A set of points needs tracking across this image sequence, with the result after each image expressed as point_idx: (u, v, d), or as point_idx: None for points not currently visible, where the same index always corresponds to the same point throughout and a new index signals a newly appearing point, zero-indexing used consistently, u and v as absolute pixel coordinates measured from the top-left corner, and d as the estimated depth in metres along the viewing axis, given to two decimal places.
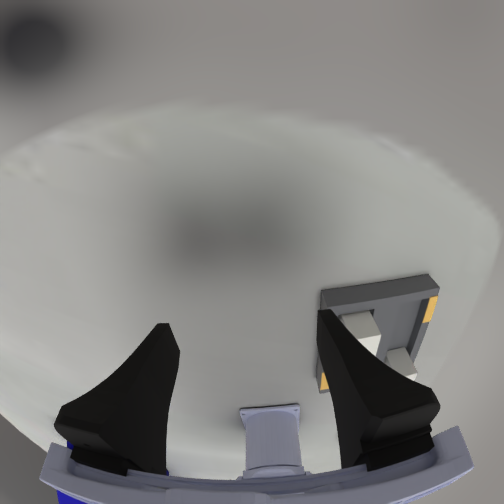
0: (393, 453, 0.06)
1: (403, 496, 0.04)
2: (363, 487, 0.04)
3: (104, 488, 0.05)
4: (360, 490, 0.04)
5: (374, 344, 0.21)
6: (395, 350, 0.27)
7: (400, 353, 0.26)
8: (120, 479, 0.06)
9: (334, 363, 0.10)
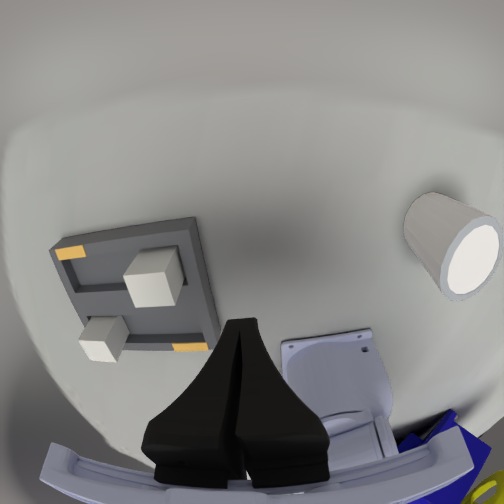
0: (279, 476, 0.06)
1: (403, 496, 0.04)
2: (363, 487, 0.04)
3: (104, 488, 0.05)
4: (360, 490, 0.04)
5: (88, 344, 0.20)
6: None
7: None
8: (120, 479, 0.06)
9: None
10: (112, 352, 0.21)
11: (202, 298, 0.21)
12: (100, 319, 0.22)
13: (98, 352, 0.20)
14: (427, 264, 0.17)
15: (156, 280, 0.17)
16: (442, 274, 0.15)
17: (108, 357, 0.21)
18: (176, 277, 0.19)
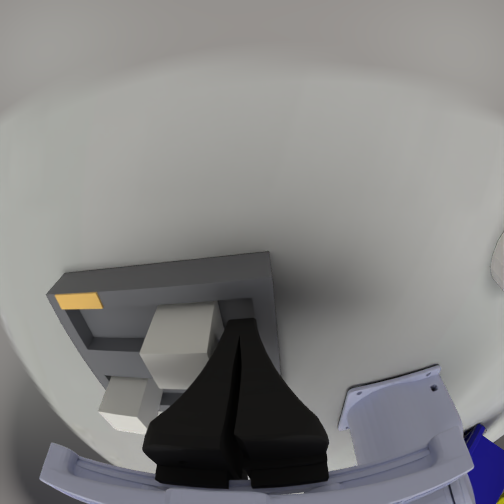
0: (278, 476, 0.06)
1: (403, 496, 0.04)
2: (363, 487, 0.04)
3: (104, 488, 0.05)
4: (360, 490, 0.04)
5: (113, 416, 0.14)
6: None
7: None
8: (120, 479, 0.06)
9: None
10: (147, 426, 0.14)
11: (276, 361, 0.15)
12: (125, 380, 0.16)
13: (127, 424, 0.14)
14: None
15: (193, 362, 0.11)
16: None
17: (141, 430, 0.15)
18: None
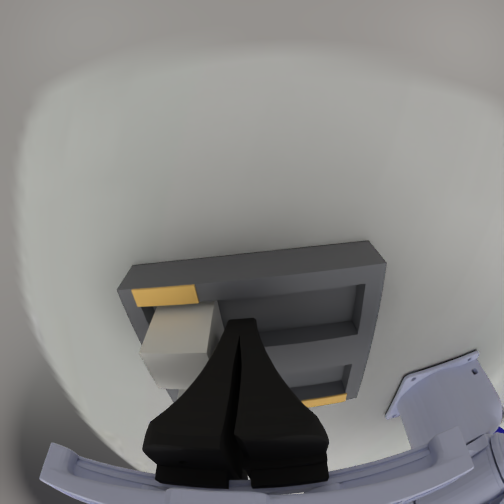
0: (278, 476, 0.06)
1: (403, 496, 0.04)
2: (363, 487, 0.04)
3: (104, 488, 0.05)
4: (360, 490, 0.04)
5: None
6: None
7: None
8: (120, 479, 0.06)
9: None
10: None
11: (367, 347, 0.15)
12: None
13: None
14: None
15: (192, 361, 0.11)
16: None
17: None
18: None
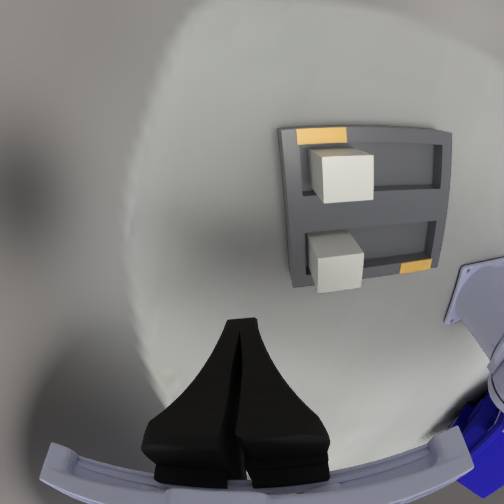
0: (279, 476, 0.06)
1: (403, 496, 0.04)
2: (363, 487, 0.04)
3: (104, 488, 0.05)
4: (360, 490, 0.04)
5: (334, 262, 0.17)
6: (309, 167, 0.18)
7: (310, 163, 0.17)
8: (120, 479, 0.06)
9: None
10: (361, 272, 0.17)
11: (446, 204, 0.18)
12: (326, 236, 0.19)
13: (342, 274, 0.17)
14: None
15: (362, 165, 0.14)
16: None
17: (352, 282, 0.17)
18: None
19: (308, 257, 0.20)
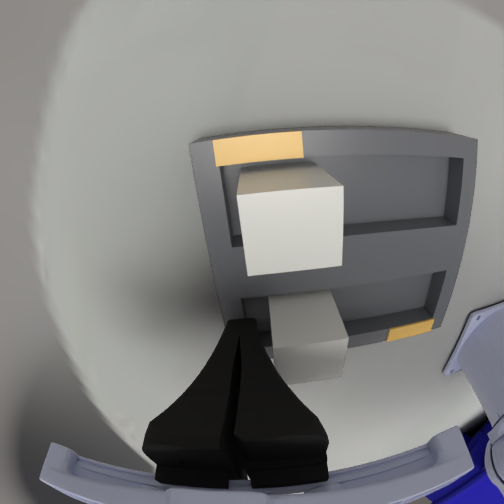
0: (278, 476, 0.06)
1: (403, 496, 0.04)
2: (363, 487, 0.04)
3: (104, 488, 0.05)
4: (360, 490, 0.04)
5: (300, 352, 0.10)
6: None
7: None
8: (120, 479, 0.06)
9: None
10: (343, 359, 0.11)
11: (462, 246, 0.12)
12: (296, 300, 0.13)
13: (313, 364, 0.11)
14: None
15: (319, 206, 0.08)
16: None
17: (328, 371, 0.11)
18: None
19: None
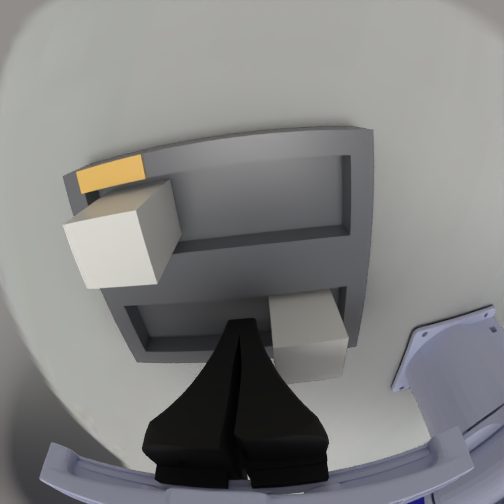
0: (278, 476, 0.06)
1: (403, 496, 0.04)
2: (363, 487, 0.04)
3: (104, 488, 0.05)
4: (360, 490, 0.04)
5: (300, 352, 0.11)
6: None
7: None
8: (120, 479, 0.06)
9: None
10: (343, 358, 0.11)
11: (365, 259, 0.12)
12: (296, 299, 0.13)
13: (313, 364, 0.11)
14: None
15: (120, 230, 0.08)
16: None
17: (328, 371, 0.11)
18: (162, 232, 0.10)
19: None
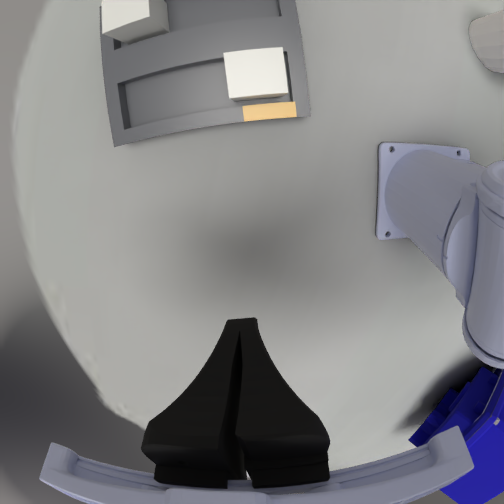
0: (279, 476, 0.06)
1: (403, 496, 0.04)
2: (363, 487, 0.04)
3: (104, 488, 0.05)
4: (360, 490, 0.04)
5: (244, 57, 0.12)
6: None
7: None
8: (120, 479, 0.06)
9: None
10: (285, 73, 0.12)
11: (297, 32, 0.13)
12: None
13: (258, 72, 0.12)
14: None
15: None
16: None
17: (274, 83, 0.12)
18: (158, 10, 0.11)
19: None
